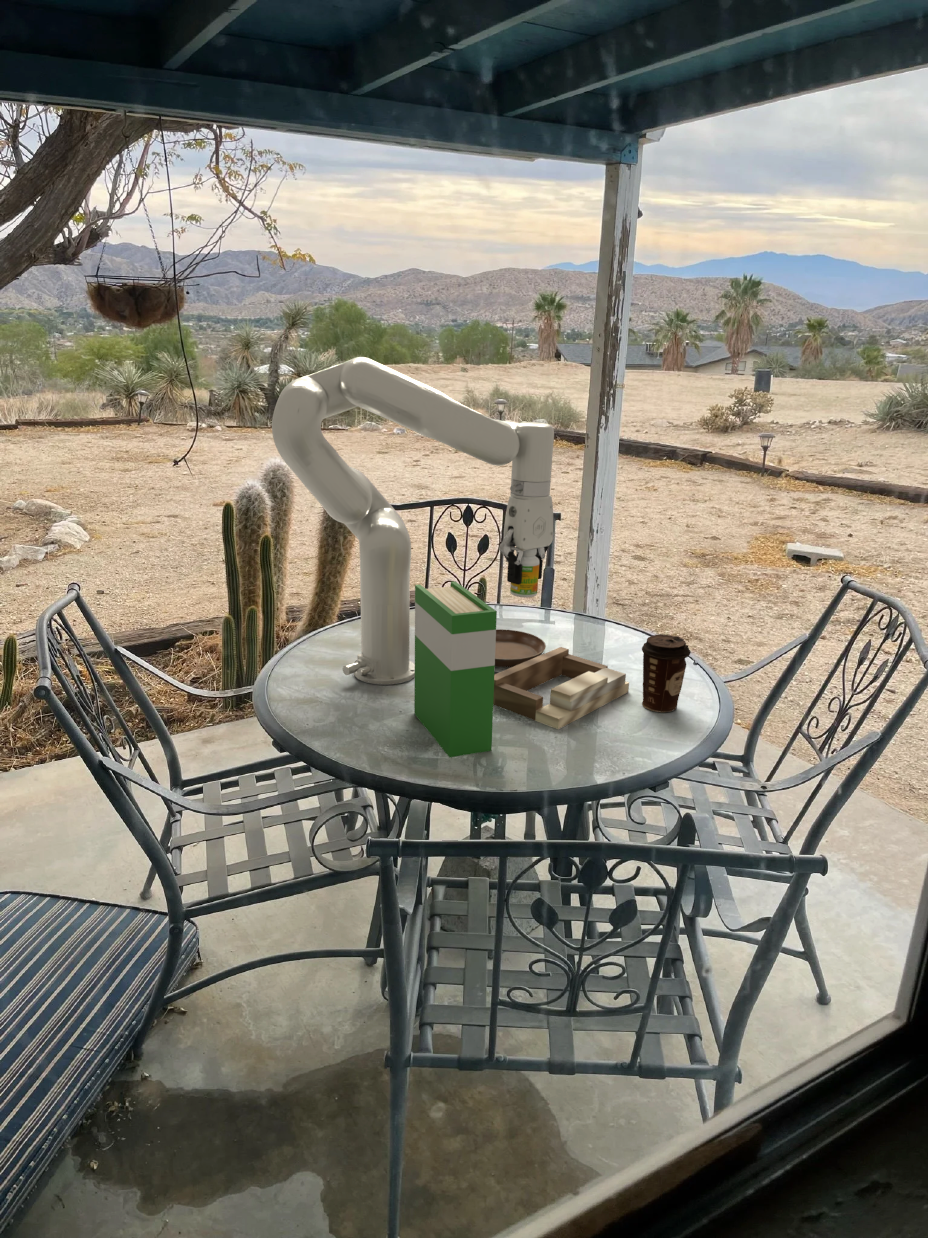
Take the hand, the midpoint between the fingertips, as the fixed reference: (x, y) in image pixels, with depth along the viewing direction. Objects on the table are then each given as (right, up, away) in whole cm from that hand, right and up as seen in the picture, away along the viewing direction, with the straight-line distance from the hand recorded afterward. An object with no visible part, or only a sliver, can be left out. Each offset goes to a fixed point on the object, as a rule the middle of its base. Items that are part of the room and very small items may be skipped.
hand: (524, 579), depth 167 cm
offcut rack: (+6, -22, -7) cm, 24 cm away
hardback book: (-14, -27, -22) cm, 38 cm away
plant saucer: (-3, -16, +14) cm, 21 cm away
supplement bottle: (0, -3, +1) cm, 3 cm away
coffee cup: (+25, -24, -10) cm, 36 cm away
